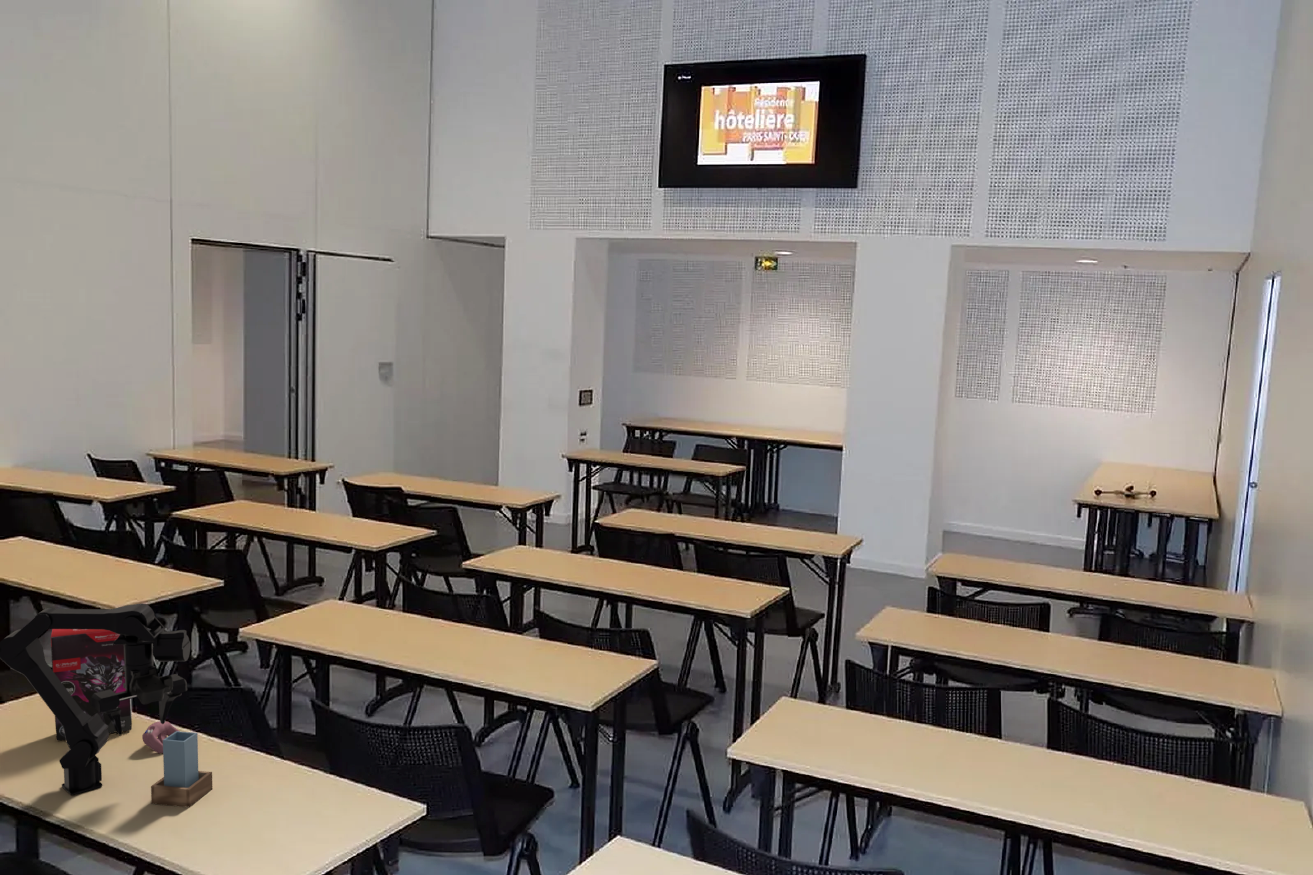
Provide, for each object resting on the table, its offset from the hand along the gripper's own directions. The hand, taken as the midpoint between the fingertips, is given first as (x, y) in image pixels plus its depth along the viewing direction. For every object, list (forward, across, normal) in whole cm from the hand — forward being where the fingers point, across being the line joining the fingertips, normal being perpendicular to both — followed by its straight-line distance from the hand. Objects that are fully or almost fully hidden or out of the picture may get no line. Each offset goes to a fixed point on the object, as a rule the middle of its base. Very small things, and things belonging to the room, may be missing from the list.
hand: (141, 729), depth 233 cm
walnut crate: (+13, +4, -12) cm, 18 cm away
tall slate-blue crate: (+12, +4, -12) cm, 17 cm away
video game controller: (+13, +12, +18) cm, 25 cm away
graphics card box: (+13, +3, +38) cm, 40 cm away
